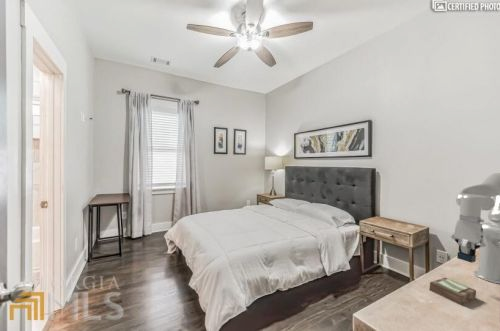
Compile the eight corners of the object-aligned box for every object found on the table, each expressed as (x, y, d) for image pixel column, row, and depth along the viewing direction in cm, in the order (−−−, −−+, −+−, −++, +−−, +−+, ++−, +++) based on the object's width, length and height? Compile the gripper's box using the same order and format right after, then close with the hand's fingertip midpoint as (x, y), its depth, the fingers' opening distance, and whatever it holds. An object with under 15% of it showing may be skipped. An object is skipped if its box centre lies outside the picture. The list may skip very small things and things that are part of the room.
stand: (444, 285, 114) (445, 276, 114) (475, 298, 104) (476, 289, 104) (429, 290, 109) (430, 281, 109) (460, 305, 98) (461, 295, 98)
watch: (477, 261, 112) (478, 239, 112) (469, 263, 108) (471, 240, 108) (462, 256, 117) (464, 236, 117) (455, 258, 113) (456, 237, 113)
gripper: (495, 223, 107) (492, 260, 107) (453, 215, 121) (450, 248, 122) (488, 224, 103) (485, 262, 104) (445, 215, 118) (443, 249, 119)
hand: (466, 254), depth 113 cm, fingers closed on watch, 3 cm apart
